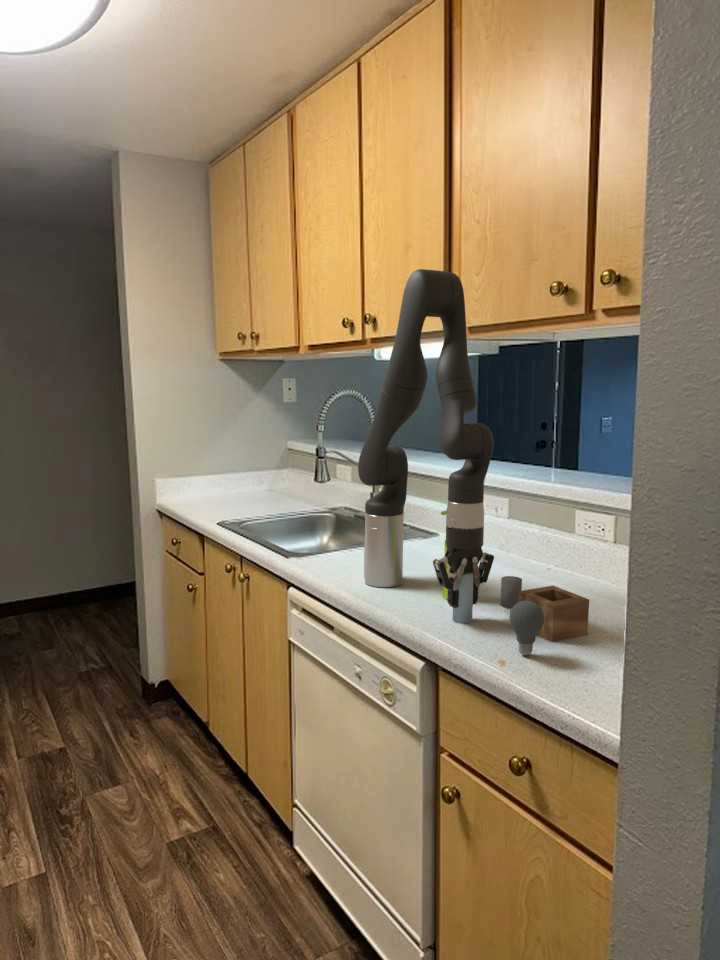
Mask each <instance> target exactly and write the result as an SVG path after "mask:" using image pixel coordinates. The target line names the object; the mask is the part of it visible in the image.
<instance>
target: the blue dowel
mask: <svg viewBox="0 0 720 960" xmlns="http://www.w3.org/2000/svg"><path fill="white" fill-rule="evenodd" d="M456 573H457V572H454V574H456ZM473 580H474V574H473V572H470V573H469V572H465V573H463V576H462V579H461V580H460V581H459V585H458V589H457V590H458V607H457V608H453V607H452V621H453V622H454V623H457V624H471V623H472V622H473V609H474V605H473Z"/></svg>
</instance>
